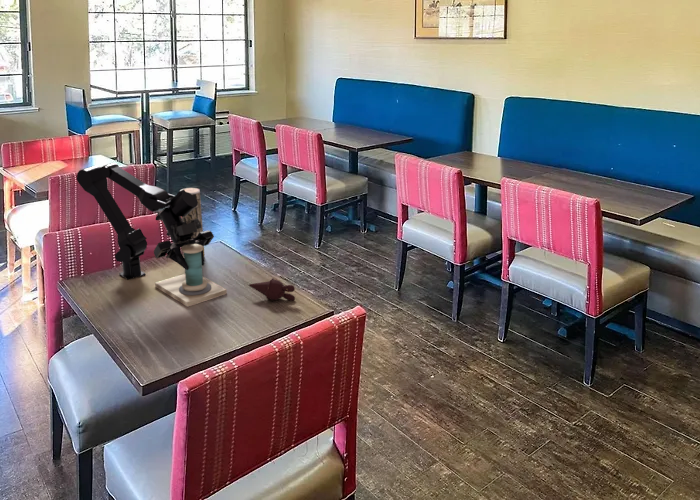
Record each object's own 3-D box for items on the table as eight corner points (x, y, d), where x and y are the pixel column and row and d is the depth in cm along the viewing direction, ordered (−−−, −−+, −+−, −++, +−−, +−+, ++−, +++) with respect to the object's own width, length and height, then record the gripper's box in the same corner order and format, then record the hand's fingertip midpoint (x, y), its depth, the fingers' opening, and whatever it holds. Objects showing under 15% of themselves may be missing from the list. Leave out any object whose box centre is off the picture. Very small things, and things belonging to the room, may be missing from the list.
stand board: (155, 286, 209) (154, 281, 208) (193, 275, 218) (193, 270, 217) (187, 306, 196) (187, 301, 195) (226, 293, 205) (226, 288, 204)
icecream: (244, 283, 197) (290, 292, 194) (253, 269, 203) (298, 278, 200) (245, 300, 201) (291, 310, 198) (254, 286, 207) (298, 295, 204)
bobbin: (177, 285, 204) (174, 247, 199) (198, 279, 209) (196, 241, 204) (190, 293, 199) (187, 254, 194) (211, 286, 204) (209, 248, 199)
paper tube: (200, 261, 230) (194, 193, 221) (182, 260, 231) (176, 192, 222) (207, 254, 236) (202, 188, 227) (190, 253, 237) (184, 187, 228)
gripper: (154, 218, 192) (176, 262, 189) (208, 205, 204) (230, 247, 201) (144, 236, 200) (165, 279, 197) (197, 223, 212) (217, 264, 209)
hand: (195, 267), depth 201 cm, fingers closed on bobbin, 5 cm apart
